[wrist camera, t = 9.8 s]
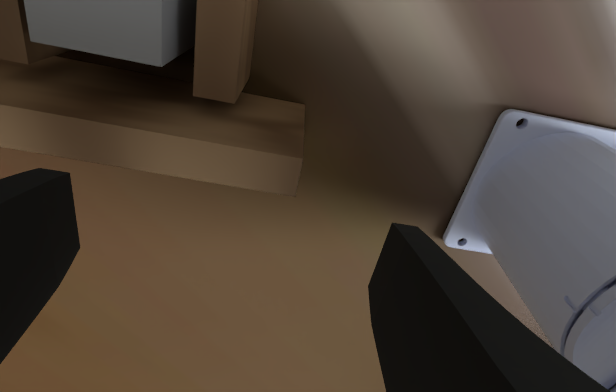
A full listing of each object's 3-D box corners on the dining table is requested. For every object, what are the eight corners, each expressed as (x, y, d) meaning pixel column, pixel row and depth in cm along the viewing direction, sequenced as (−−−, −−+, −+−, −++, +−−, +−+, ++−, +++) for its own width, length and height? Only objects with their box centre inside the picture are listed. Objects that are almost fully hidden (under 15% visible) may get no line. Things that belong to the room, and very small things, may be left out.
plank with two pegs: (327, -9, 15) (336, 2, 10) (299, 134, 19) (295, 197, 13) (-41, -91, 14) (-242, -126, 9) (-5, 77, 17) (-139, 123, 12)
